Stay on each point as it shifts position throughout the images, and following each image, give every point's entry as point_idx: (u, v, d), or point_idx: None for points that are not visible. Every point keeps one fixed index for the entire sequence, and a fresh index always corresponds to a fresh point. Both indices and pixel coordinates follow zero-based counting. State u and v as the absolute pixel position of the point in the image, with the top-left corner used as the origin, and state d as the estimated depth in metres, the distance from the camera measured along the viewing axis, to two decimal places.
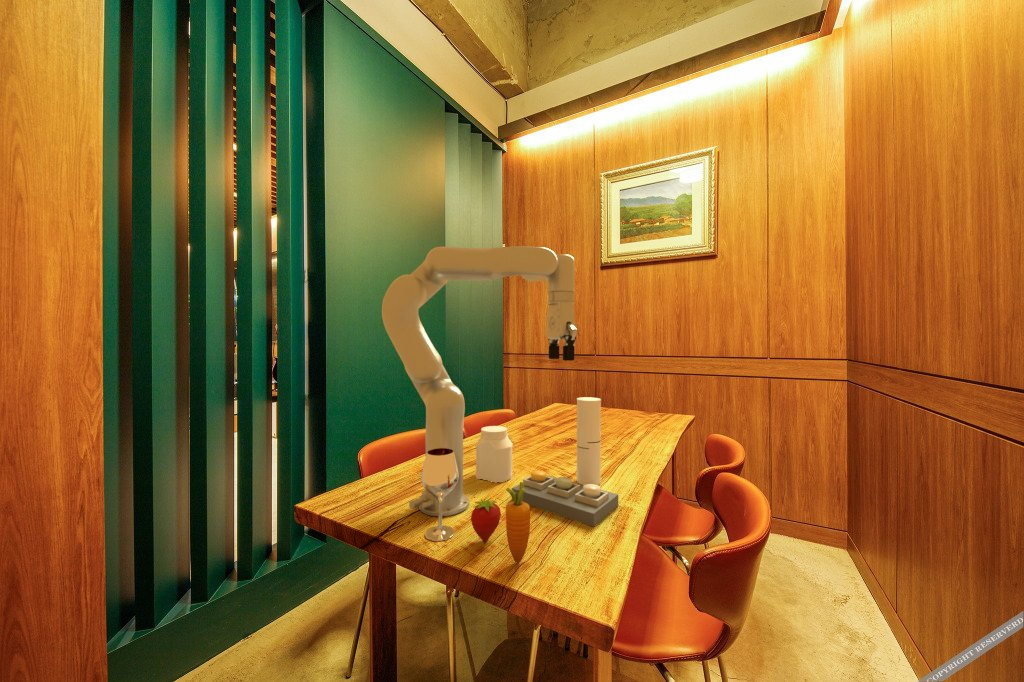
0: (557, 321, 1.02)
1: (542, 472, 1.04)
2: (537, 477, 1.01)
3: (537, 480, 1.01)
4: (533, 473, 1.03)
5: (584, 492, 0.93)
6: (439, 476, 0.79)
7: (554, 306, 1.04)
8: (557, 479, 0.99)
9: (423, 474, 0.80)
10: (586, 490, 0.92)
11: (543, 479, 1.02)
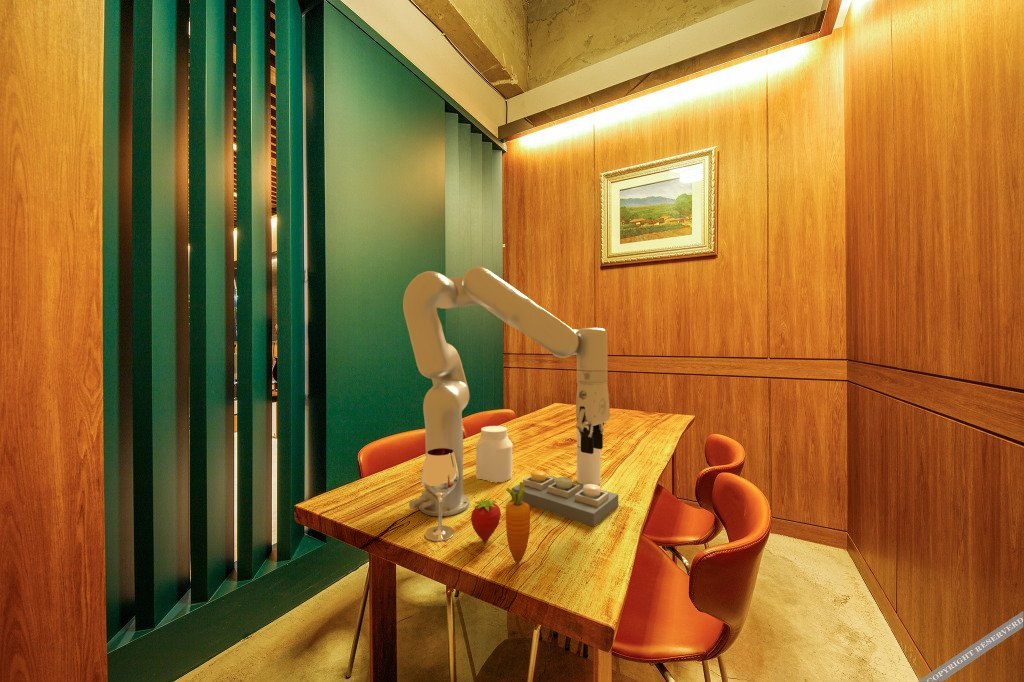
0: (607, 402, 0.95)
1: (542, 472, 1.04)
2: (537, 477, 1.01)
3: (537, 480, 1.01)
4: (533, 473, 1.03)
5: (584, 492, 0.93)
6: (439, 476, 0.79)
7: (603, 386, 0.93)
8: (557, 479, 0.99)
9: (423, 474, 0.80)
10: (586, 490, 0.92)
11: (543, 479, 1.02)
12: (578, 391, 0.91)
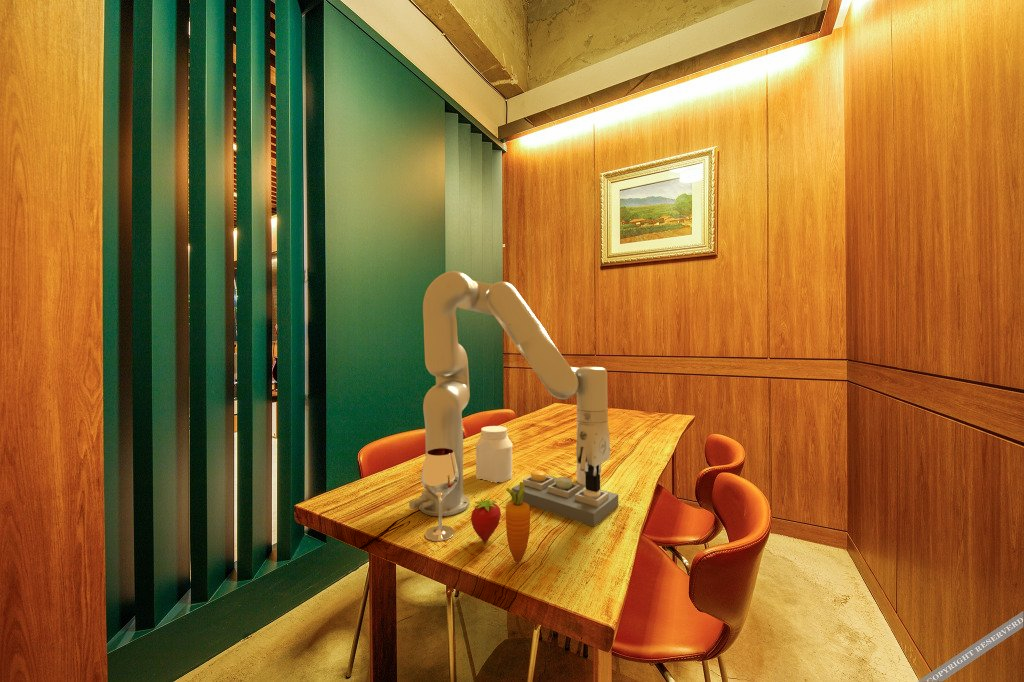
0: (608, 441, 0.95)
1: (542, 472, 1.04)
2: (537, 477, 1.01)
3: (537, 480, 1.01)
4: (533, 473, 1.03)
5: (584, 495, 0.93)
6: (439, 476, 0.79)
7: (604, 425, 0.93)
8: (557, 479, 0.99)
9: (423, 474, 0.80)
10: (586, 493, 0.92)
11: (543, 479, 1.02)
12: (578, 431, 0.91)
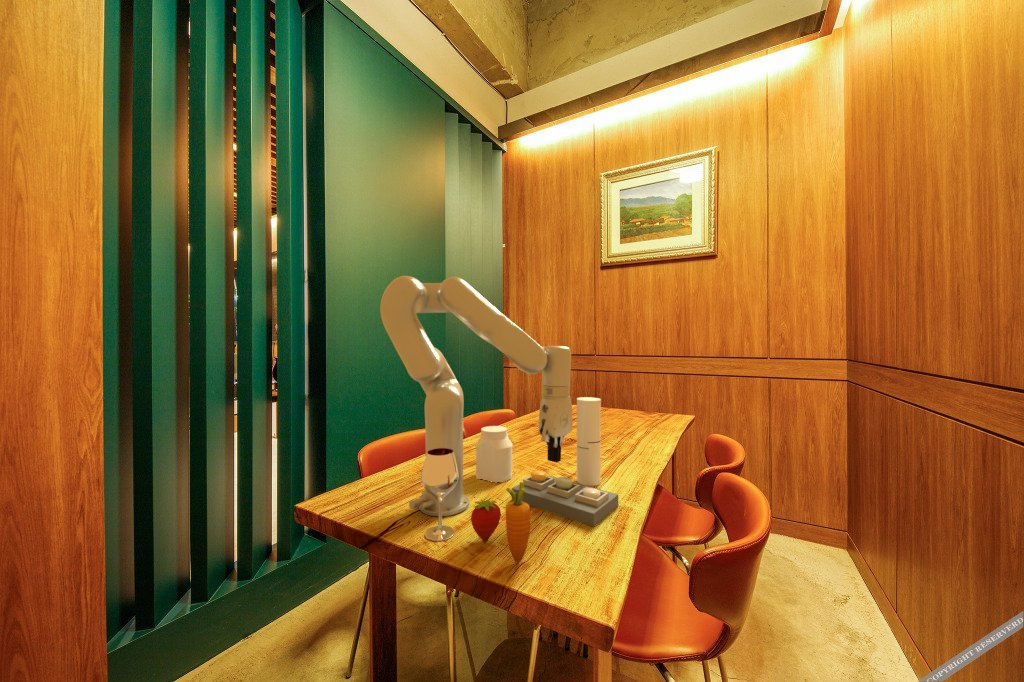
0: (570, 416, 1.01)
1: (542, 472, 1.04)
2: (537, 477, 1.01)
3: (537, 480, 1.01)
4: (533, 473, 1.03)
5: None
6: (439, 476, 0.79)
7: (566, 400, 0.99)
8: (557, 479, 0.99)
9: (423, 474, 0.80)
10: (586, 494, 0.92)
11: (543, 479, 1.02)
12: (541, 405, 0.97)
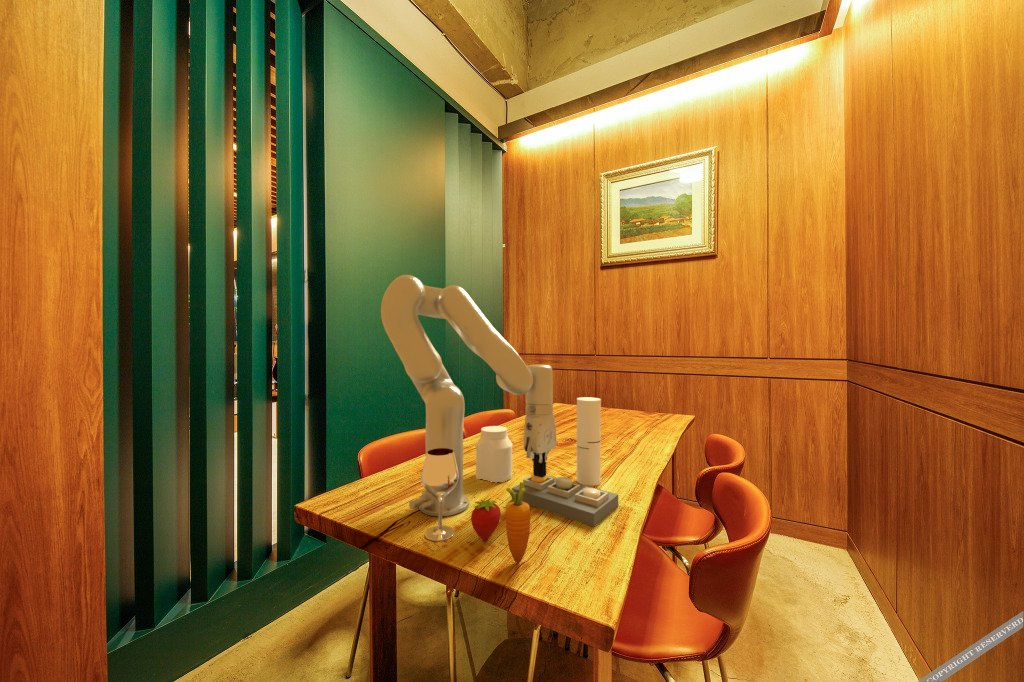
0: (554, 431, 1.05)
1: None
2: (537, 480, 1.01)
3: None
4: (533, 476, 1.03)
5: None
6: (439, 476, 0.79)
7: (549, 417, 1.03)
8: (557, 479, 0.99)
9: (423, 474, 0.80)
10: (586, 494, 0.92)
11: (543, 482, 1.02)
12: (525, 423, 1.01)
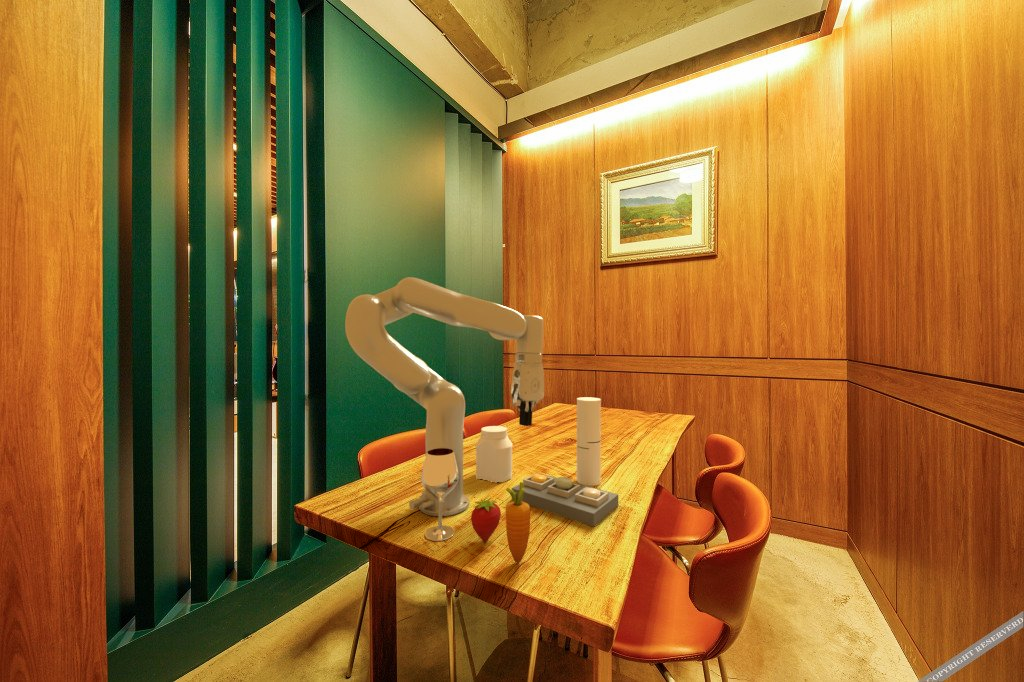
0: (542, 383, 1.06)
1: (542, 476, 1.04)
2: (537, 481, 1.01)
3: None
4: (533, 477, 1.03)
5: None
6: (439, 476, 0.79)
7: (538, 367, 1.04)
8: (557, 479, 0.99)
9: (423, 474, 0.80)
10: (586, 494, 0.92)
11: None
12: (514, 370, 1.02)
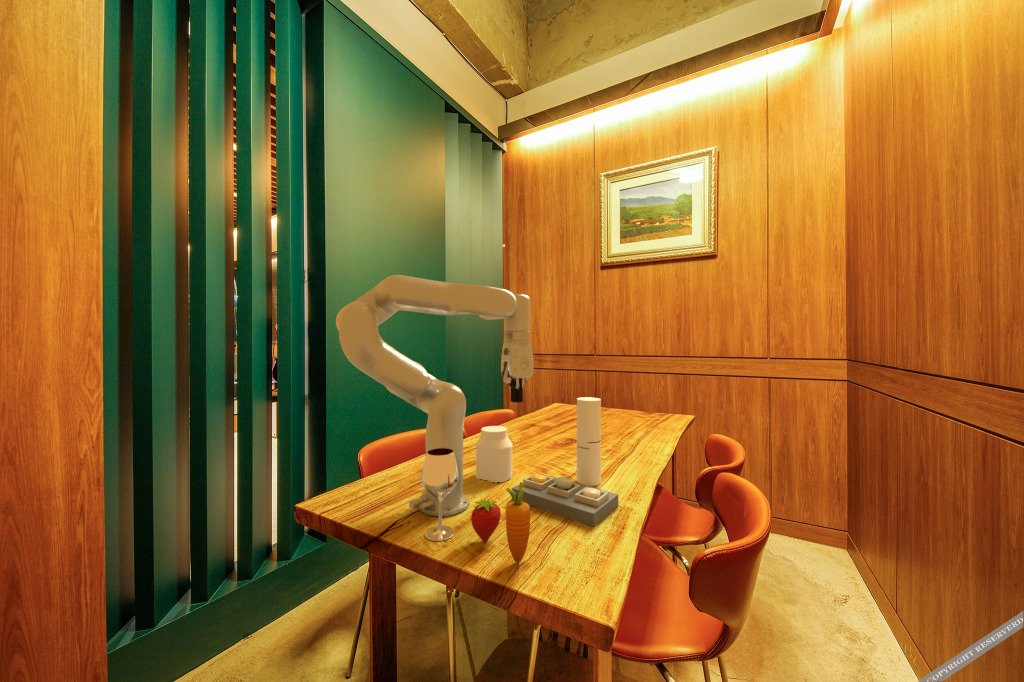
0: (531, 360, 1.08)
1: (542, 476, 1.04)
2: (537, 481, 1.01)
3: None
4: (533, 477, 1.03)
5: None
6: (439, 476, 0.79)
7: (526, 345, 1.06)
8: (557, 479, 0.99)
9: (423, 474, 0.80)
10: (586, 494, 0.92)
11: None
12: (503, 349, 1.04)
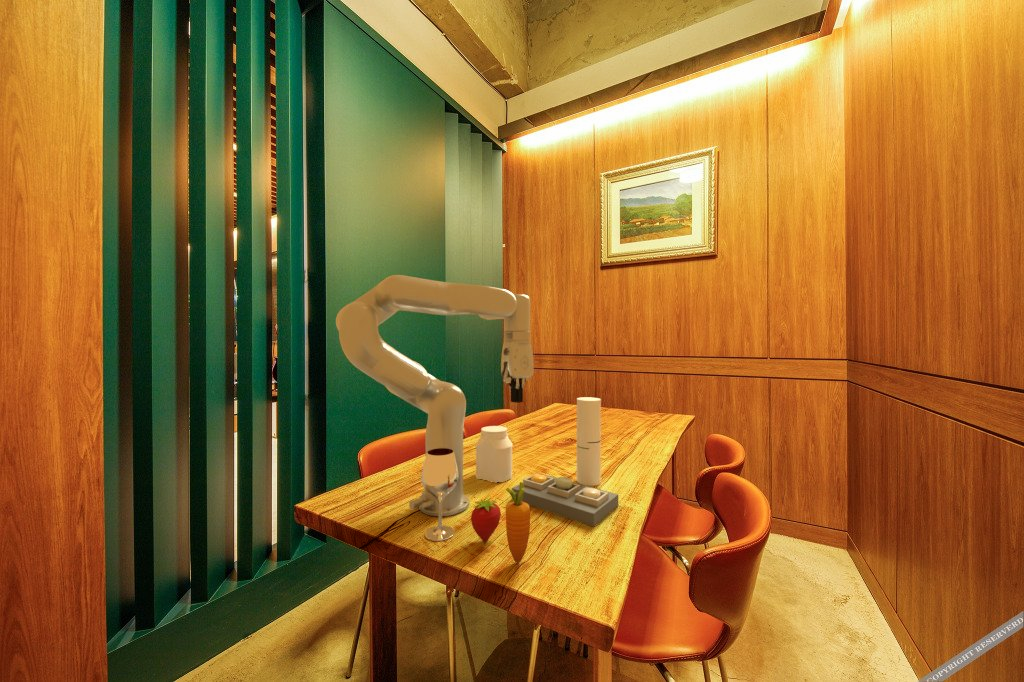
0: (531, 360, 1.08)
1: (542, 476, 1.04)
2: (537, 481, 1.01)
3: None
4: (533, 477, 1.03)
5: None
6: (439, 476, 0.79)
7: (526, 345, 1.06)
8: (557, 479, 0.99)
9: (423, 474, 0.80)
10: (586, 494, 0.92)
11: None
12: (503, 349, 1.04)
